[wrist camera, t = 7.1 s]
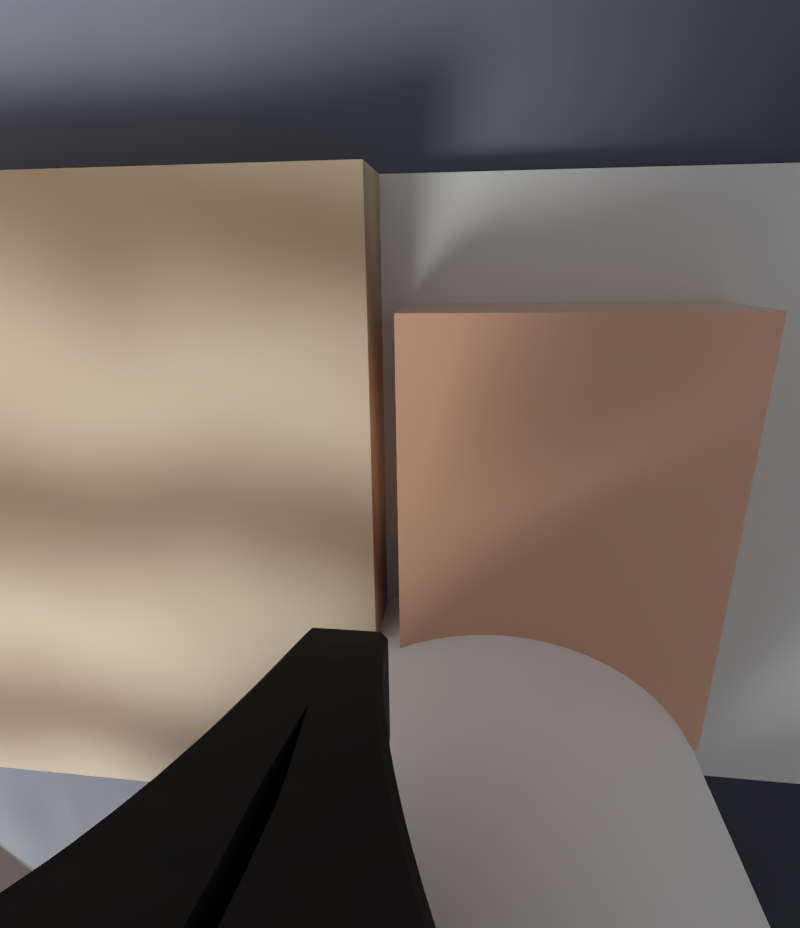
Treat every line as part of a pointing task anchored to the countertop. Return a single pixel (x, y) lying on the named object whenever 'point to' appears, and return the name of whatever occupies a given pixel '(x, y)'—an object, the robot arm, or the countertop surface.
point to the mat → (639, 280)
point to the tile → (581, 477)
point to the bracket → (552, 792)
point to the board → (181, 445)
